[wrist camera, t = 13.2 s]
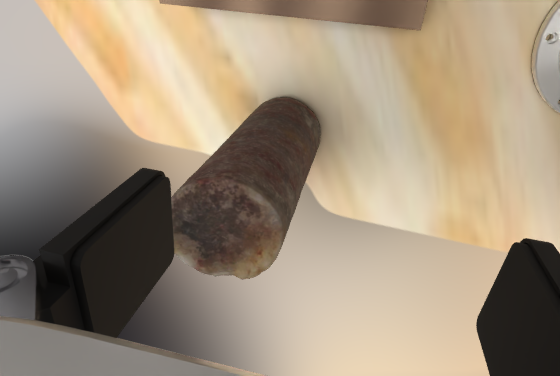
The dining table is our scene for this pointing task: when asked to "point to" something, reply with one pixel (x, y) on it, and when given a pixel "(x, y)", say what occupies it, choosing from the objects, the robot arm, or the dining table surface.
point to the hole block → (327, 10)
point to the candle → (246, 192)
